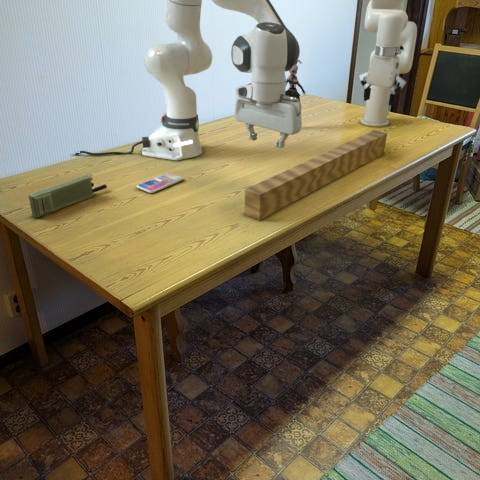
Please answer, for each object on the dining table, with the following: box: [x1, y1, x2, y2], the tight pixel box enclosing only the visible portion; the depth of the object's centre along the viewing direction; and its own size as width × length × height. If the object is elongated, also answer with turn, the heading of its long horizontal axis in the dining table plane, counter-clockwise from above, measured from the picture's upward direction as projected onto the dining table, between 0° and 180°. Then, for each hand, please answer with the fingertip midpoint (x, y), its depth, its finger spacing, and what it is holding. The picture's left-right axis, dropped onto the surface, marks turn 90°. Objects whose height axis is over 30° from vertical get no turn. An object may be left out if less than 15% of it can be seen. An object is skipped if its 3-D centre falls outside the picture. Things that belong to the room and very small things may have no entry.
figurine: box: [285, 58, 306, 102], centre depth 211 cm, size 15×6×30 cm, turn 132°
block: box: [244, 130, 388, 221], centre depth 167 cm, size 75×6×8 cm, turn 139°
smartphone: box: [136, 172, 184, 194], centre depth 164 cm, size 7×1×15 cm
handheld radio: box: [28, 173, 108, 219], centre depth 150 cm, size 7×3×25 cm
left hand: (266, 143), depth 137 cm, fingers open, 8 cm apart
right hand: (378, 102), depth 181 cm, fingers open, 9 cm apart
